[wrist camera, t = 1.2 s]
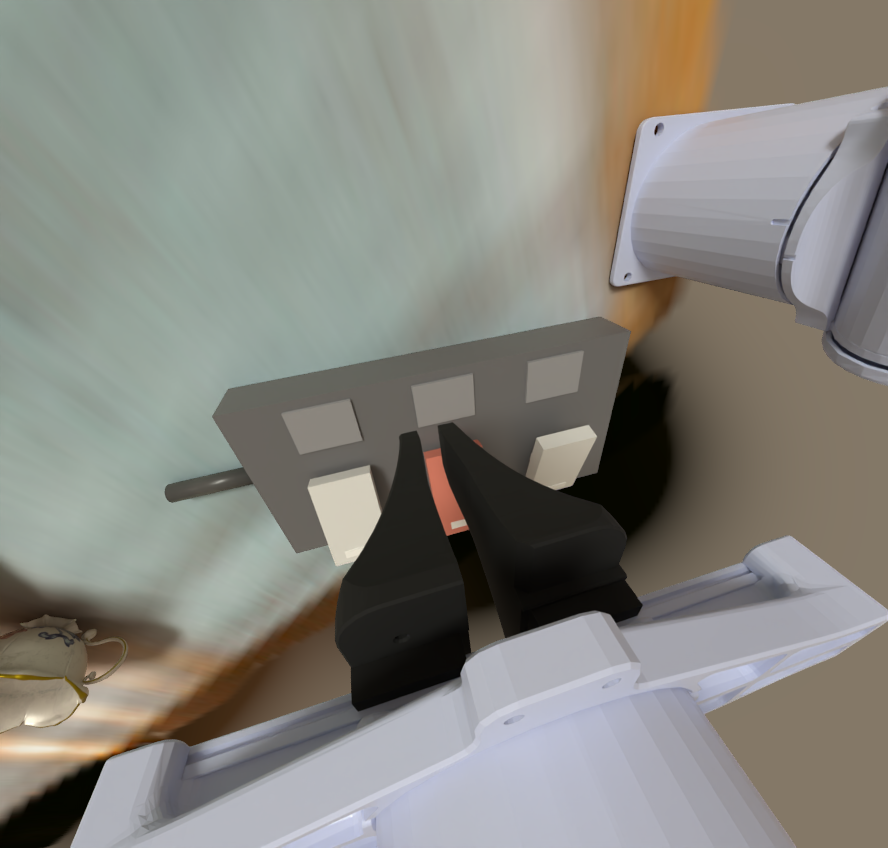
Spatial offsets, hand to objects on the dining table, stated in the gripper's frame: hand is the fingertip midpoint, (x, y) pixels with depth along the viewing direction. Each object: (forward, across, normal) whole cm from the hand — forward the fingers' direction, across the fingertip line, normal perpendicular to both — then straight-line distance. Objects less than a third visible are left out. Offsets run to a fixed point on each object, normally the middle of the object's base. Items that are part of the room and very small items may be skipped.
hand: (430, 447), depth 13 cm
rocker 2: (+6, -9, +8) cm, 13 cm away
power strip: (+9, +1, +6) cm, 11 cm away
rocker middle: (+6, -2, +8) cm, 10 cm away
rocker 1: (+6, +5, +8) cm, 11 cm away
